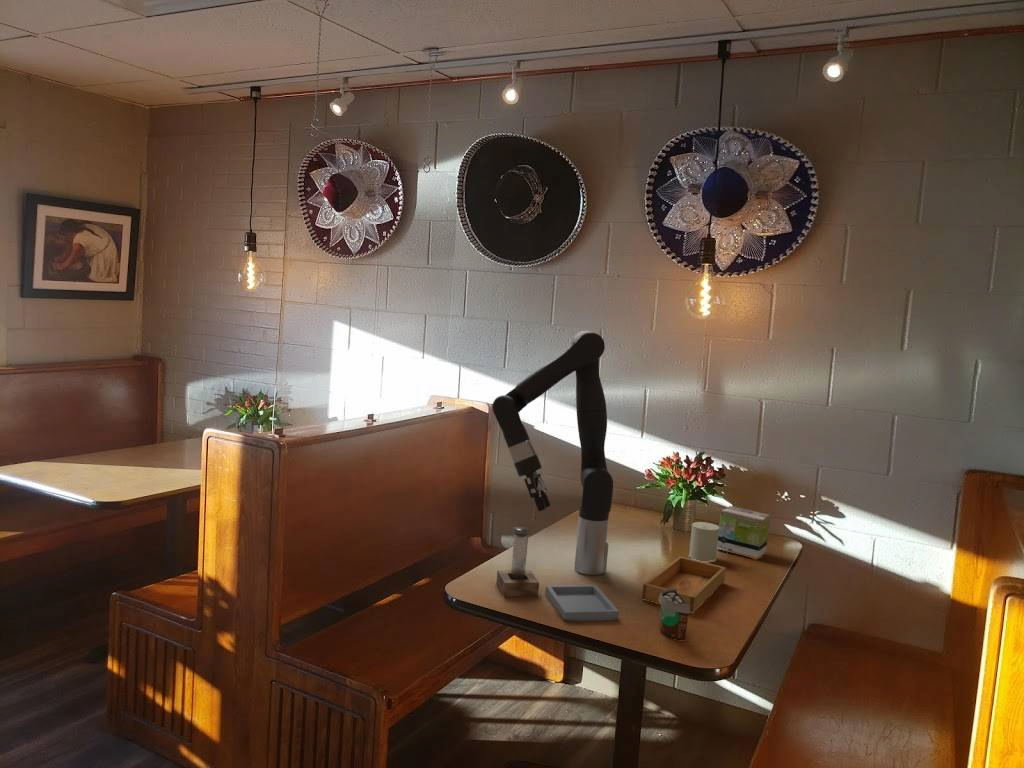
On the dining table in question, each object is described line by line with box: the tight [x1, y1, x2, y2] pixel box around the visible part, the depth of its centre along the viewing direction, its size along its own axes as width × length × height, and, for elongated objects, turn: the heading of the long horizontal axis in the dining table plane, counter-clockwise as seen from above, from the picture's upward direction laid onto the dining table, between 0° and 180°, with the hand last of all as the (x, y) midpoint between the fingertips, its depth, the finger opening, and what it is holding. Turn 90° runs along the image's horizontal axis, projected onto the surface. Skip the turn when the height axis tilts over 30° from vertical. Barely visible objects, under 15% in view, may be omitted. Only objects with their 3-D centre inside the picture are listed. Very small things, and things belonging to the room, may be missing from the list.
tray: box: [641, 555, 727, 612], centre depth 236 cm, size 31×15×6 cm, turn 149°
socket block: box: [496, 569, 540, 598], centre depth 227 cm, size 10×10×4 cm
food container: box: [658, 588, 691, 642], centre depth 205 cm, size 12×6×10 cm, turn 5°
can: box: [688, 521, 719, 561], centre depth 267 cm, size 9×9×12 cm
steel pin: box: [510, 526, 531, 580], centre depth 226 cm, size 5×5×18 cm
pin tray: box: [544, 584, 620, 623], centre depth 218 cm, size 15×19×2 cm
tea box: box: [717, 505, 771, 557], centre depth 277 cm, size 15×10×15 cm
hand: (545, 508), depth 236 cm, fingers open, 8 cm apart
